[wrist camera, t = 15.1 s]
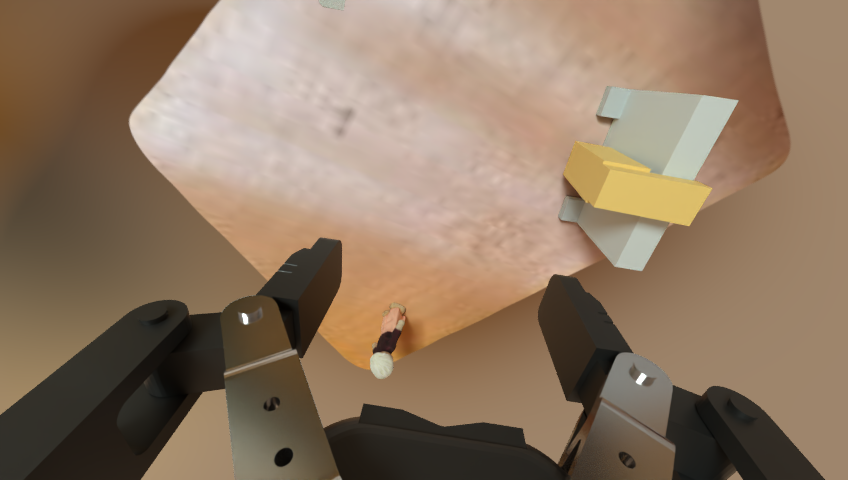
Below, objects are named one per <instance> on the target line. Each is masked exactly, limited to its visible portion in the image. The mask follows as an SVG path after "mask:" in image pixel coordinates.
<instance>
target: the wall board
mask: <svg viewBox="0 0 848 480" xmlns="http://www.w3.org/2000/svg"><path fill="white" fill-rule="evenodd" d="M738 101H739V100H733V99H726V98H720V97H713V96H706V95H697V94H684V93H671V92H658V91H645V90H632V89H625V88H618V87H611V86H607V87H606V90H605V93H604V95H603V98H602V101H601V103H600V106H599V109H598V111H597V114H596V115H599V116H604V117H610V118H614V119H613V122H612V124H611V127H610V129H609V132H608V134H607V137H606V139H605V142H604V144H603V146H605V147H611V148H613V149H615V150H616V151H618V152H620V153H622V154H624V155H626V156H628V157H629V158H631V159H633V160H635V161H637V162H639V163H641V164H643V165H644V166H646V167H648V168H650V169H651V170H650V173H655V174H660V175H666V176H671V177H677V178H682V179H687V180H694V179H695V177H696V175H697V173H698V172H699V170H700V168H701V166H702V165H703V163H704V161H705V159H706V158H707V156H708V154H709V152H710V150H711V149H712V147H713V145H714V143H715V142H716V140H717V138H718V136H719V135H720V133H721V131H722V129H723V128H724V126H725V124H726V122H727V121H728V119H729V117H730V115H731V113H732V112H733V110H734V108H735V106H736V105H737V103H738ZM558 217H559V218H560V219H561V220H564V221H571V222H577V223H578V224H579V226H580V227H581V228H582V229H583V230H584V231H585V233H586V234H587V235H588V236H589V237H590V238H591V240H592V241H593V242H594V243H595V244H596V246H597V247H598V248H599V249H600V250H601V251H602V253H603V254H604V255H605V256H606V257H607V258H608V260H609V261H610V262H611V263H612V264H613V265H614V267H620V268H626V269H632V270H639V271H642V270H643V268H644V267H645V265H646V263H647V261H648V260H649V258H650V256H651V254H652V253H653V251H654V249H655V247H656V245H657V244H658V242H659V240H660V239H661V237H662V235H663V233H664V231H665V230H666V228H667V226H668V224H669V223H670V222H666V221H661V220H656V219H651V218H646V217H641V216H636V215H631V214H626V213H621V212H615V211H610V210H605V209H600V208H595V207H593V206H592V205H591V203H586V202H585V201H584V199H583V198H578V197H571V196H566V197H565V200H564V202H563V205H562V208H561V210H560V213H559V216H558Z"/></svg>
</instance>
